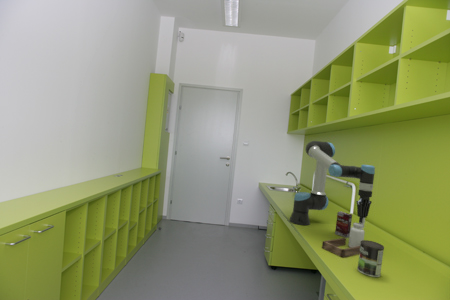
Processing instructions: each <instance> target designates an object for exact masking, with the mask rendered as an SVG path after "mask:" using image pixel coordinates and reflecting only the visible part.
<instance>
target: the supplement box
mask: <svg viewBox="0 0 450 300" xmlns="http://www.w3.org/2000/svg"><path fill="white" fill-rule="evenodd" d="M336 214H337V215H336V222H335V223H336V224H335V230H334V234H335V235H337V236H340V237H342V238H346V239H349V236H350V229H351V227H352V219H353V214H352V213H347V212H345V211H337V212H336Z"/></svg>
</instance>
